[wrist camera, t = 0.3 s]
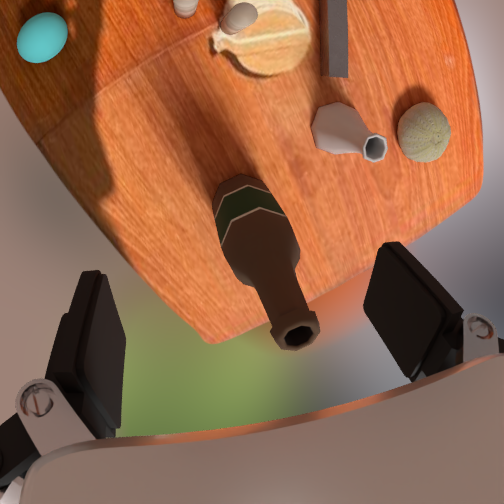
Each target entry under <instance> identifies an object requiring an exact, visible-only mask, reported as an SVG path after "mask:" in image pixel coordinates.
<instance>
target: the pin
mask: <svg viewBox="0 0 504 504" xmlns="http://www.w3.org/2000/svg"><path fill="white" fill-rule="evenodd" d="M257 17H258V12H257V9H256V8H255V7H254V6H253V5H252V4H249V3H239V4H237V5H235V6H234V7H233V8H232V9H231V10H230V12H229V13H228V14H227V15H226V16H225V17H224V18H223V20H222V21H221V24H220V27H221V30H222V31H223V32H224V33H226V34H229V35H232V34H236V33H238V32H239V31H241V30H242V29H244V28H246V27H248V26H249V25H251V24H253V23H254V22H255V21H256V19H257Z"/></svg>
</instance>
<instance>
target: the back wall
mask: <svg viewBox="0 0 504 504" xmlns="http://www.w3.org/2000/svg"><path fill="white" fill-rule="evenodd" d="M319 16H320V51H321V76H327V77H343V78H348V22H347V0H319Z"/></svg>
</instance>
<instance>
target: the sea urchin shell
mask: <svg viewBox="0 0 504 504" xmlns="http://www.w3.org/2000/svg"><path fill="white" fill-rule="evenodd" d="M397 134H398V140H399V145H400V147H401V149H402V152H403V154H404V155H405V156H406V157H407V158H409V159H412V160H414V161H417V162H430V161H433V160H437V159H438V158H439V157H440V156H441V155H442V153H443V152H444V150H445V149H446V147H447V144H448V142H449V139H450V135H451V129H450V125H449V123H448V120H447V118H446V117H445V115H444V114H443V113H442V112H441V110H440V109H439V108H437V107H436V106H434V105H433V104H431V103H427V102H422V103H419V104H415V105H413V106H412V107H411V108H410V109H408V110H407V111H405V113H404V114H403V116H402V117H401V118H400V120H399V123H398V132H397Z"/></svg>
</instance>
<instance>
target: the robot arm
mask: <svg viewBox="0 0 504 504" xmlns="http://www.w3.org/2000/svg"><path fill="white" fill-rule="evenodd" d="M363 308H364V312H365V314H366V315H367V317H368V318H369V320H370V321H371V323H372V324H373V326H374V327H375V329H376V331H377V332H378V334H379V335H380V337H381V338H382V340H383V342H384V343H385V345H386V346H387V348H388V349H389V351H390V353H391V354H392V356H393V358H394V359H395V361H396V362H397V364H398V366H399V367H400V369H401V371H402V372H403V374H404V375H405V376H406V377H408V378H409V379H410V381H411V382H412V383H410V384H407V385H404V386H401V387H398V388H395V389H392V390H389V391H386V392H383V393H380V394H376V395H373V396H370V397H367V398H363V399H360V400H357V401H353V402H350V403H346V404H342V405H339V406H335V407H331V408H327V409H323V410H319V411H315V412H311V413H306V414H302V415H297V416H292V417H288V418H283V419H278V420H272V421H268V422H262V423H256V424H250V425H243V426H237V427H230V428H223V429H215V430H206V431H197V432H187V433H177V434H165V435H152V436H151V435H150V436H132V437H119V438H115V433H116V428H120V426H121V405H122V387H123V386H122V385H123V372H124V359H125V347H126V337H125V333H124V330H123V327H122V324H121V321H120V318H119V315H118V311H117V308H116V305H115V302H114V299H113V295H112V292H111V289H110V285H109V282H108V278H107V276H106V274H101V272H100V271H99V270H94V271H83V272H82V274H81V276H80V279H79V282H78V285H77V287H76V290H75V293H74V297H73V299H72V302H71V306H70V309H69V312H68V313H65V314H64V315H63V316H62V318H61V321H60V325H59V328H58V331H57V334H56V337H55V341H54V345H53V348H52V352H51V356H50V359H49V363H48V367H47V371H46V375H45V379H34V380H32V381H30V382H28V383H26V384H25V385H24V386H23V387H22V388H21V390H20V391H19V392H18V394H17V397H16V406H15V407H16V410H17V413H16V414H14V415H13V416H12V417H11V418H9V419H8V420H6V421H5V422H4V423H3V424H2V425H1V426H0V504H504V340H503V339H500V338H498V337H497V331H496V328H495V326H494V324H493V323H492V322H491V321H490V320H489V319H487V318H486V317H484V316H482V315H479V314H474V313H473V314H468V315H467V316H466V317H465V318H464V320H463V319H462V318H461V315H462V313H463V311H464V310H463V309H462V308H461V306H460V305H459V304H458V303H457V302H456V301H455V300H454V298H453V297H452V296H451V295H450V294H449V293H448V292H447V291H446V290H445V289H444V287H443V286H442V285H441V284H440V283H439V282H438V281H437V280H436V279H435V278H434V277H433V276H432V275H431V274H430V272H429V271H428V270H427V269H426V268H425V267H424V266H423V265H422V264H421V263H420V262H419V261H418V260H417V259H416V258H415V257H414V256H413V255H412V254H411V253H410V252H409V251H408V250H407V249H406V248H405V247H404V246H403V245H402V244H401V243H400V242H397V241H396V242H386V243H383V245H382V246H381V247H380V248H379V249H378V252H377V256H376V260H375V264H374V268H373V271H372V275H371V279H370V282H369V286H368V289H367V293H366V296H365V300H364V304H363ZM106 437H107V438H106Z"/></svg>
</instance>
